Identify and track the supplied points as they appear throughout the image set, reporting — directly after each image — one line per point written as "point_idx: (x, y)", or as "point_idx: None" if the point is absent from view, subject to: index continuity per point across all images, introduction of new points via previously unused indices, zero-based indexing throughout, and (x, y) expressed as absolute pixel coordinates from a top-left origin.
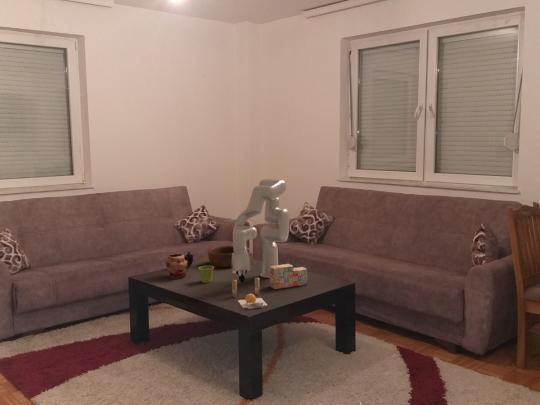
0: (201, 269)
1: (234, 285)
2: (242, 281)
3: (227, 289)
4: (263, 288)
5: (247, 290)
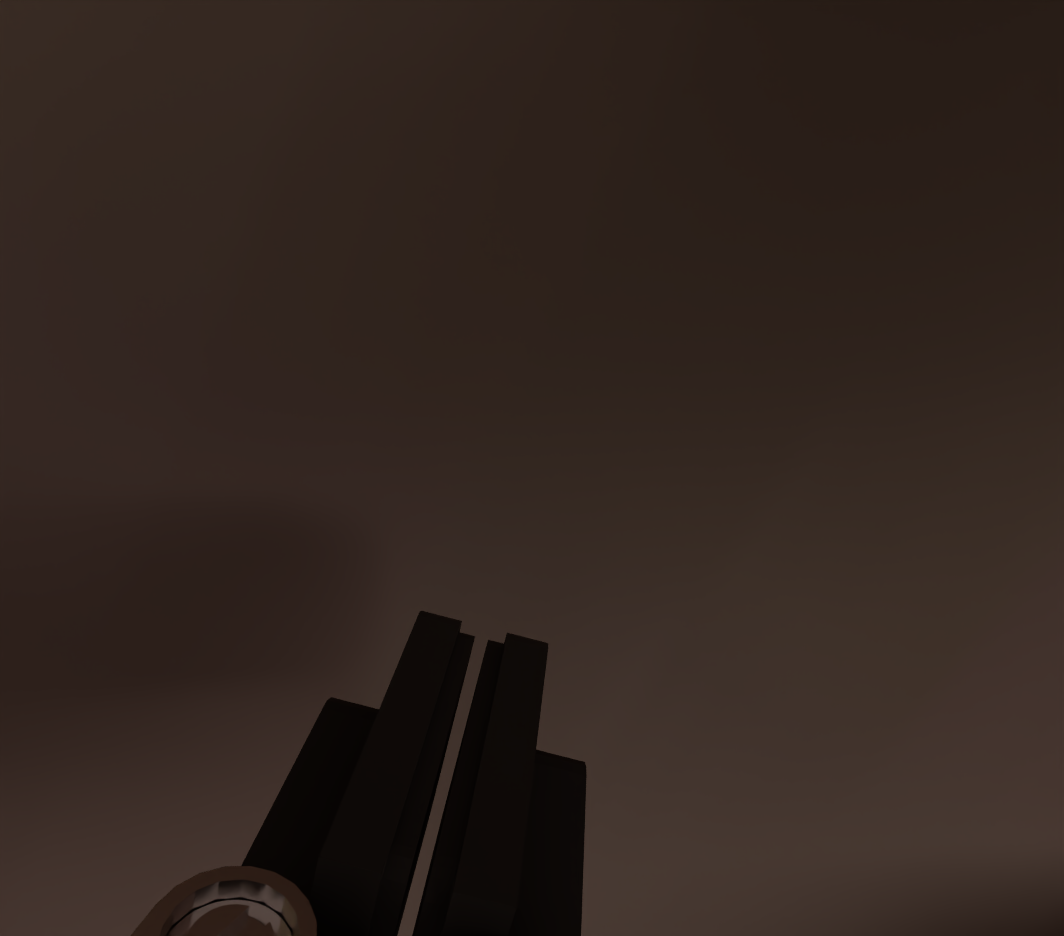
0: None
1: None
2: (440, 823)
3: (9, 421)
4: (1028, 895)
5: None
